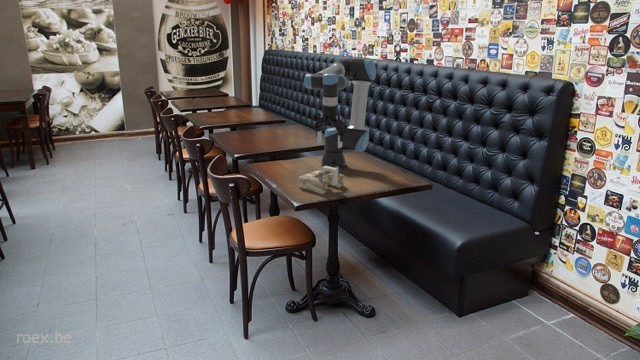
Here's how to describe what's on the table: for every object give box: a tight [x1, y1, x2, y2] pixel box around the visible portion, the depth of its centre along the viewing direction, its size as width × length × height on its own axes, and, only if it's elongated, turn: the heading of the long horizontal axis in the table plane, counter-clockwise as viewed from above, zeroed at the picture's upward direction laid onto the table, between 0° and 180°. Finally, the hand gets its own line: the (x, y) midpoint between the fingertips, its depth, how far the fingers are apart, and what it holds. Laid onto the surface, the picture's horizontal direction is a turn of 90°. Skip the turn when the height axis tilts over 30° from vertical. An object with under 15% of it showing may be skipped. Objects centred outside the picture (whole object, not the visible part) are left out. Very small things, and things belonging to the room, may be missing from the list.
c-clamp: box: [298, 166, 345, 195], centre depth 252 cm, size 18×16×10 cm
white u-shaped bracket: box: [321, 166, 338, 185], centre depth 248 cm, size 3×8×8 cm, turn 51°
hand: (329, 145), depth 249 cm, fingers open, 13 cm apart
